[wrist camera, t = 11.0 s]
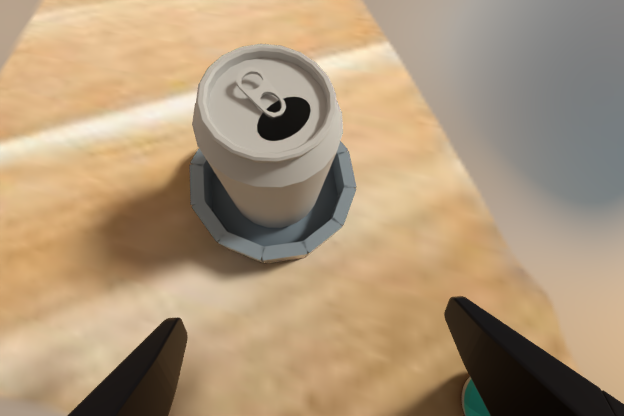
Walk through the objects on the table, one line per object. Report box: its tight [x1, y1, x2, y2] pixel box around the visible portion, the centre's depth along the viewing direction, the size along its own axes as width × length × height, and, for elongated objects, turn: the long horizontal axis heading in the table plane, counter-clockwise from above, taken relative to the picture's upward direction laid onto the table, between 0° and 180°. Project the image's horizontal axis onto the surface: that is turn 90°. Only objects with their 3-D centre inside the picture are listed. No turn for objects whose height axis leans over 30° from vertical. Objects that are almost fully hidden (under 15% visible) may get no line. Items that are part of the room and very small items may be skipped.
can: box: [192, 44, 343, 228], centre depth 17 cm, size 8×8×12 cm
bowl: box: [190, 141, 356, 264], centre depth 22 cm, size 13×13×4 cm
